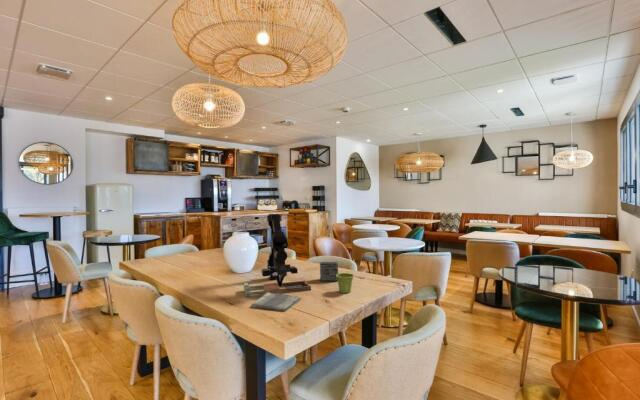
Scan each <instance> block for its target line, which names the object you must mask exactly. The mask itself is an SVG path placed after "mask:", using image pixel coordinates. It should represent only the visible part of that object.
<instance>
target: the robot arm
mask: <svg viewBox="0 0 640 400" xmlns="http://www.w3.org/2000/svg"><path fill="white" fill-rule="evenodd" d="M282 218H283V217H282V214H279V213H269V214H268V215H266V222H267V224H268V226H269V228H270V253H269V255H268V259H267V260H266V268H262V269H261V271H260V272H261V273H260V274H261V276H262V277H268V279H269V280H270V281H272V280H275V281H276V283H277V284H278V285H279V288H282V287H281V285H282V283H284V282H283V280H284V279H285V278H286V277H288V274H287V273H291V274H292V275H294V274H298V271H299V270H298V268H297V267H296V266H295V265H293V266H292V265H291V264H286V260H287V259H288V253H287V251H285V249H288V247H289V241H288V237H287V236H286V234H285V232H284V231H283V230H282V227H281V226H282V225H281V222H282V221H283V220H282Z"/></svg>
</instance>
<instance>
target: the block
mask: <svg viewBox="0 0 640 400" xmlns="http://www.w3.org/2000/svg"><path fill="white" fill-rule="evenodd" d="M262 285H263V288H264V289H263V291H267V290H277V289H280V287H279V285H278V283H277V282H270V283H263V284H262Z"/></svg>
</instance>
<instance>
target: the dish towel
mask: <svg viewBox="0 0 640 400" xmlns="http://www.w3.org/2000/svg"><path fill="white" fill-rule="evenodd" d="M301 300H302V297H300V296H298V295H290V294H286V293H280V294H279V293H276V294H273V293H269V292H267V293H266V294H265V295H263V296H260V298H258V299H257V300H255V301H254V302H253V303H251V305H250V308H252V309H259V310H269V311H275V312H283V313H285V312H287V311H288V310H289V309H291V308H292V307H294V306H295V305H296V304H298V303H299V302H300V301H301Z"/></svg>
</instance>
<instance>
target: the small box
mask: <svg viewBox="0 0 640 400" xmlns="http://www.w3.org/2000/svg"><path fill="white" fill-rule="evenodd" d="M319 269H320V270H319V275H320V277H319V278H320V279H319V280H320V281H319V282H321V283H322V282H326V283H327V282H335V283H336V282H337V283H338V279H337V276H336V275H337V274H339V262H338V261H331V262H330V261H323V262H322V261H321V262H320V263H319Z"/></svg>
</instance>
